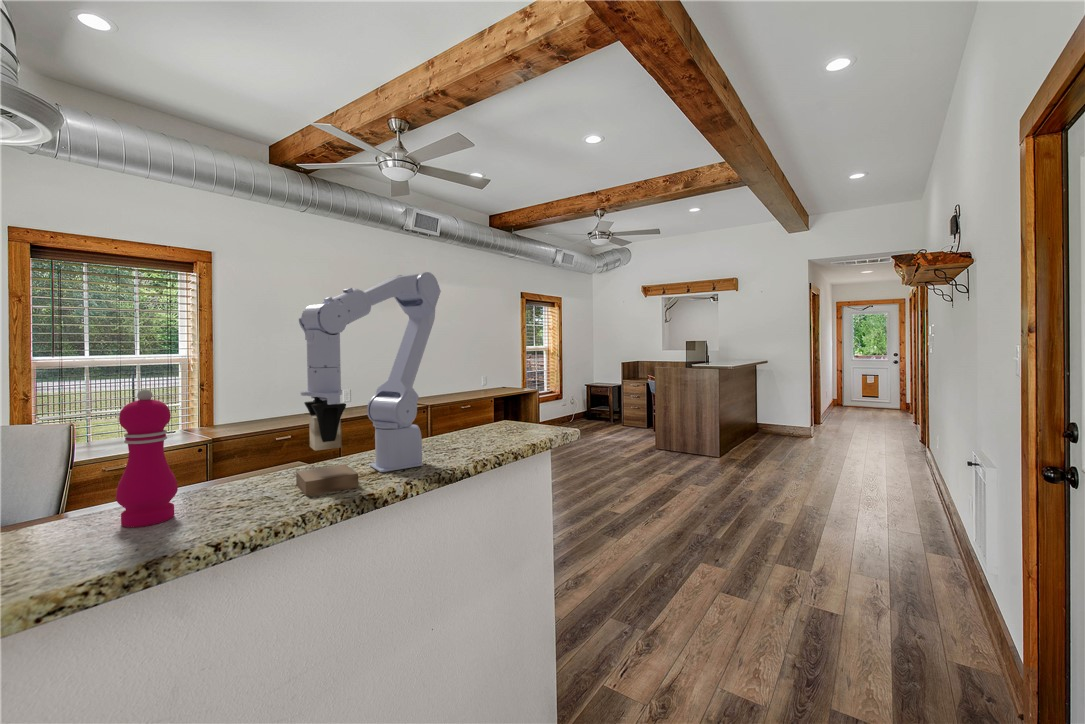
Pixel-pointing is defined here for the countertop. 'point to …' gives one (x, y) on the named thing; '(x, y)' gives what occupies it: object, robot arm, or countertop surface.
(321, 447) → the ash block
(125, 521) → the pepper mill
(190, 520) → the countertop surface
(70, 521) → the countertop surface
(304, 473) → the walnut block
